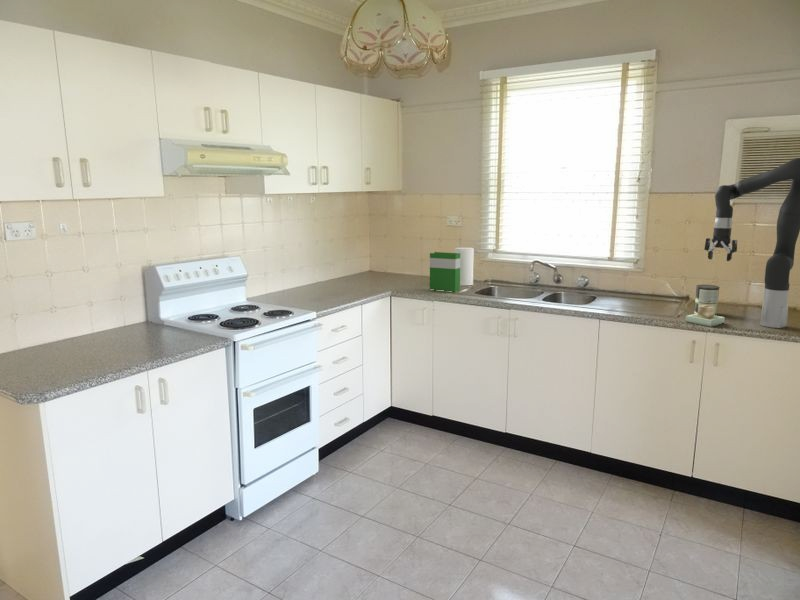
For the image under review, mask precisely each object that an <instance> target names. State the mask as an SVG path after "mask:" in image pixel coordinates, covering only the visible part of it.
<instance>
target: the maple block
mask: <svg viewBox="0 0 800 600" xmlns="http://www.w3.org/2000/svg"><path fill="white" fill-rule="evenodd" d="M714 311H715V307H712V306H706V305H703V306H699V307H698V318H704V319H709V320H711V319H714Z"/></svg>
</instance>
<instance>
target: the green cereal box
mask: <svg viewBox="0 0 800 600" xmlns="http://www.w3.org/2000/svg"><path fill="white" fill-rule="evenodd" d="M430 289H434V290H444V291H452V292H456V291H459V290H460V291H461V287H460V253H455V252H443V251H442V252H441V251H439V252H438V251H435V252H430V253H429V290H430ZM460 291H459V292H460ZM456 293H457V292H456Z"/></svg>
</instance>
